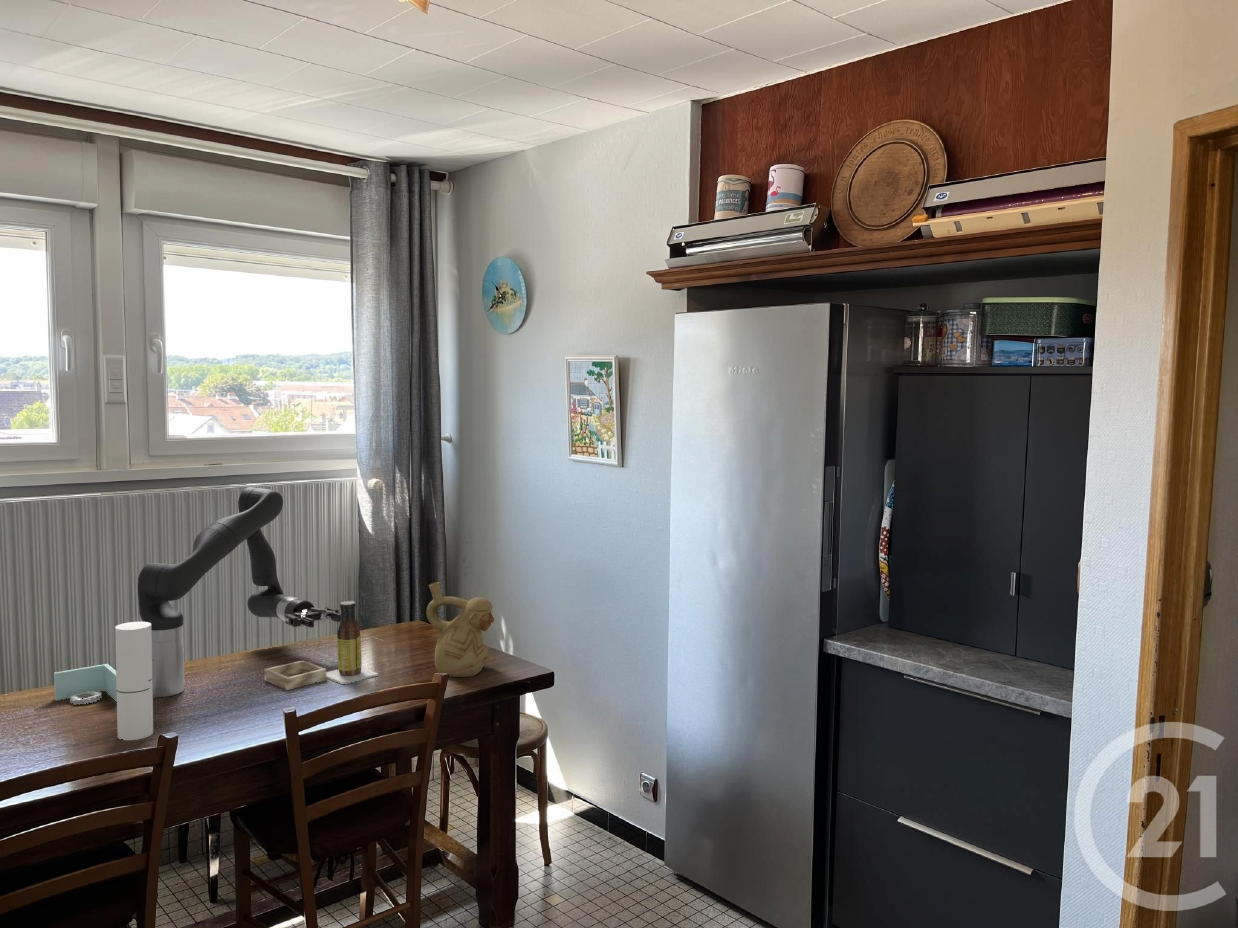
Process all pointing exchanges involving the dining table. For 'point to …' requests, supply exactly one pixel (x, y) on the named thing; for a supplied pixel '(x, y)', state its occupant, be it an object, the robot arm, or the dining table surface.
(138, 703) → the cylindrical container
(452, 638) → the ceramic vessel
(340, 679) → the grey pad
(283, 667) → the wood collar
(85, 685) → the l-shaped corner panel
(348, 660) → the sauce bottle
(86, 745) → the dining table surface
